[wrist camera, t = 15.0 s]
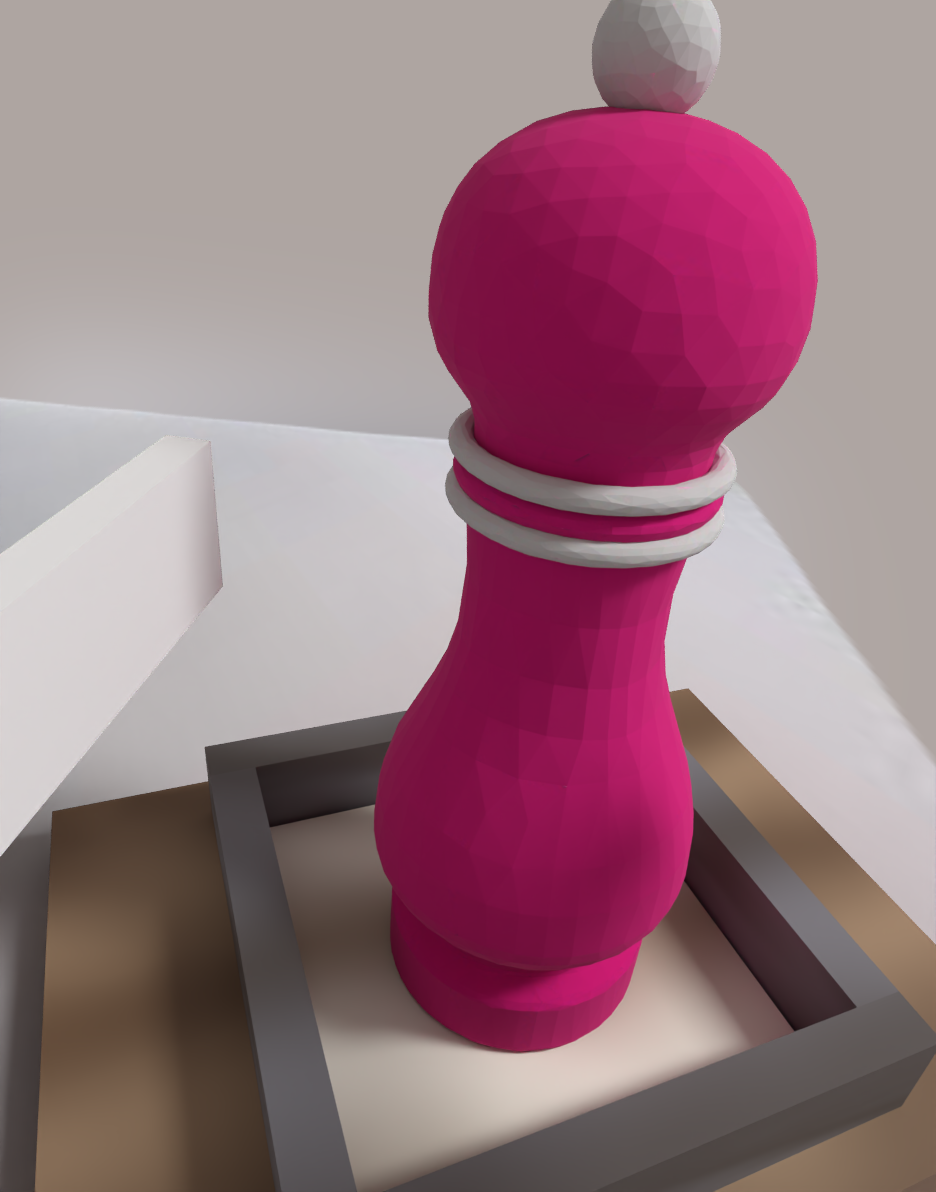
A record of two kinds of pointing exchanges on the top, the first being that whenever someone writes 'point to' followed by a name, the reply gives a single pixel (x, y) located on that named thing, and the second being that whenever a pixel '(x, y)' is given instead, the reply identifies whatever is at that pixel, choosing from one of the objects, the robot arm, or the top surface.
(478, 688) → the pepper mill
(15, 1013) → the top surface
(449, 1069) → the socket board
